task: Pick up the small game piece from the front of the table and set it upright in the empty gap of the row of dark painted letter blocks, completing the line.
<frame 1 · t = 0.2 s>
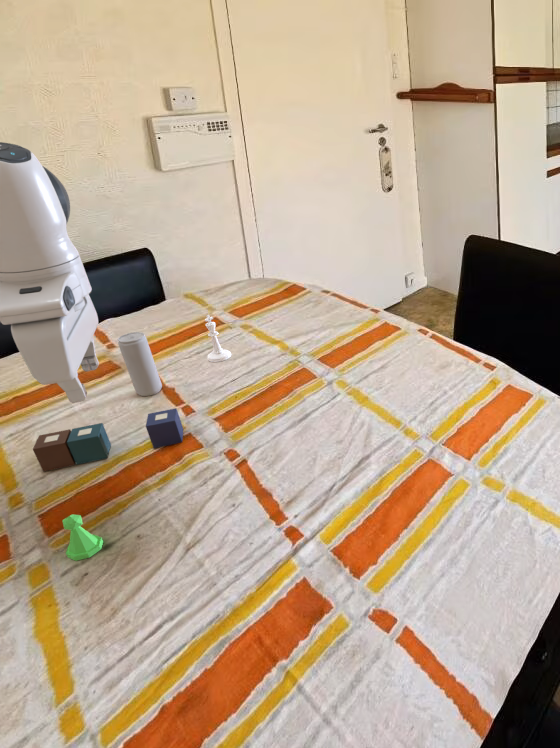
hand: (85, 383, 83), 21 cm above the table, tool pointing down, fingers open, 8 cm apart
letter blocks: (112, 450, 107), on the table
beverage can: (150, 392, 125), on the table
chess piece: (219, 357, 138), on the table
game piece: (86, 550, 85), on the table
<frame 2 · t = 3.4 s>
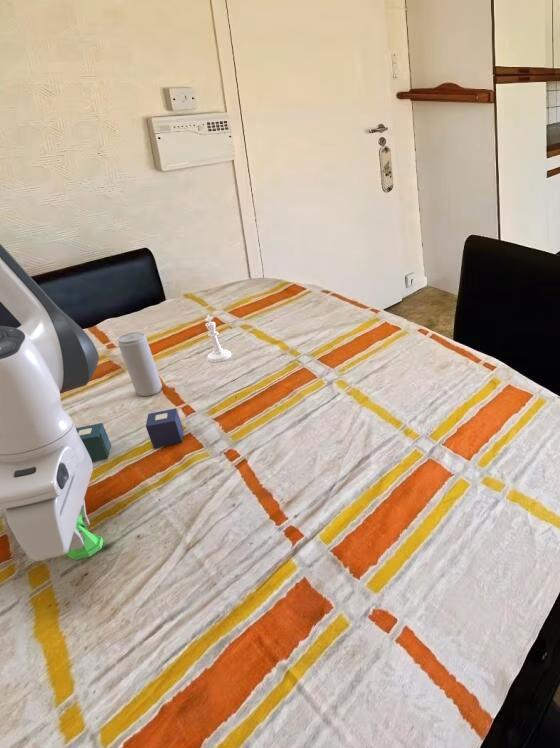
hand: (80, 537, 84), 2 cm above the table, tool pointing down, fingers closed on game piece, 2 cm apart
game piece: (86, 549, 86), on the table, touching gripper
everything else where it was.
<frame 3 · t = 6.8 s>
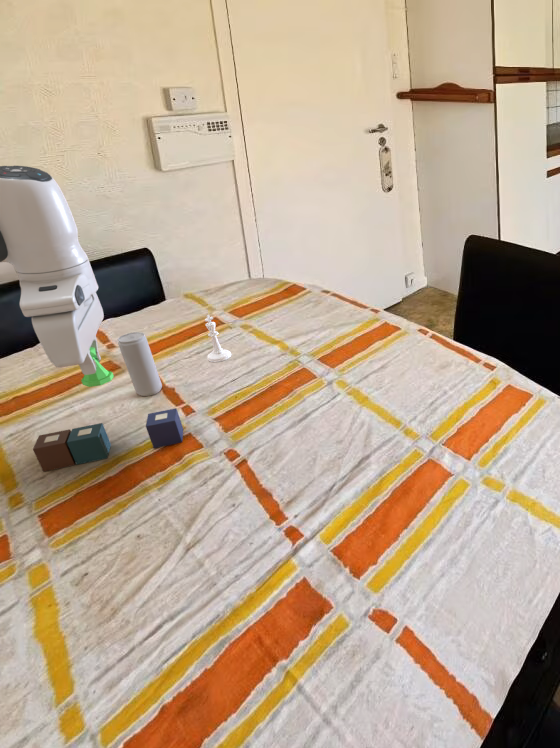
hand: (92, 368, 97), 17 cm above the table, tool pointing down, fingers closed on game piece
game piece: (98, 381, 98), point 14 cm above the table, touching gripper
everything else where it was.
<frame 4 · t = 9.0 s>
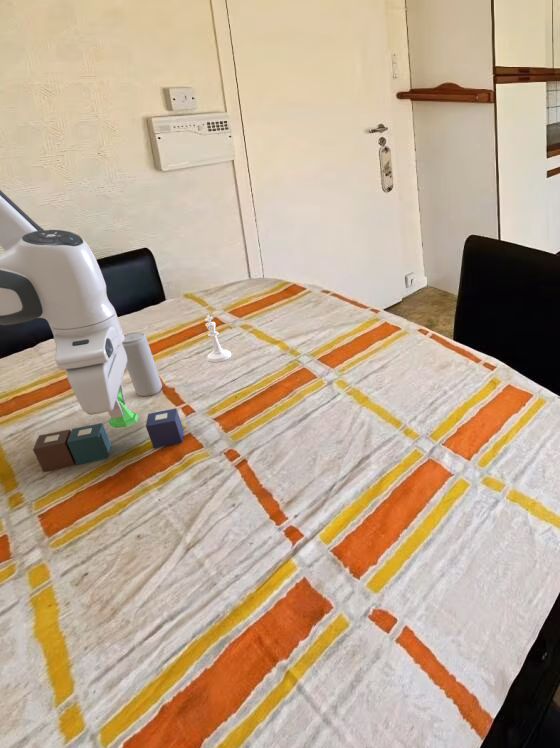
hand: (119, 410, 104), 7 cm above the table, tool pointing down, fingers closed on game piece
game piece: (124, 422, 106), point 5 cm above the table, touching gripper
everything else where it was.
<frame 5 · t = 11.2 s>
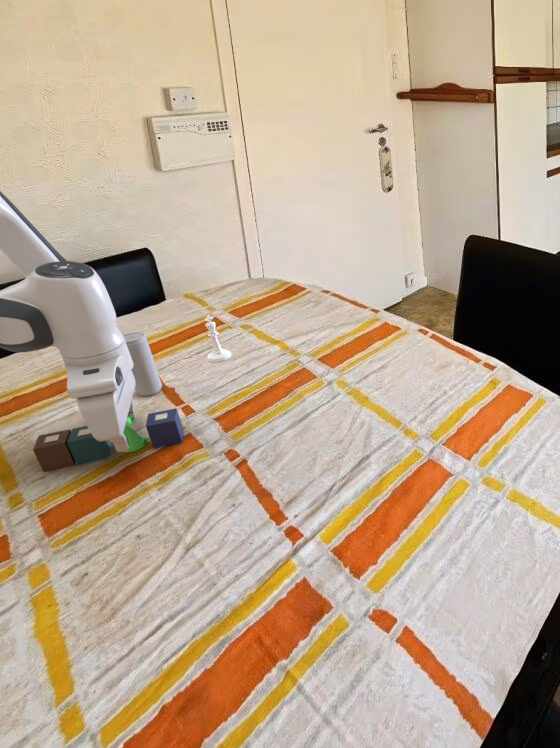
hand: (127, 434, 106), 2 cm above the table, tool pointing down, fingers open, 8 cm apart
game piece: (133, 446, 108), on the table
everything else where it was.
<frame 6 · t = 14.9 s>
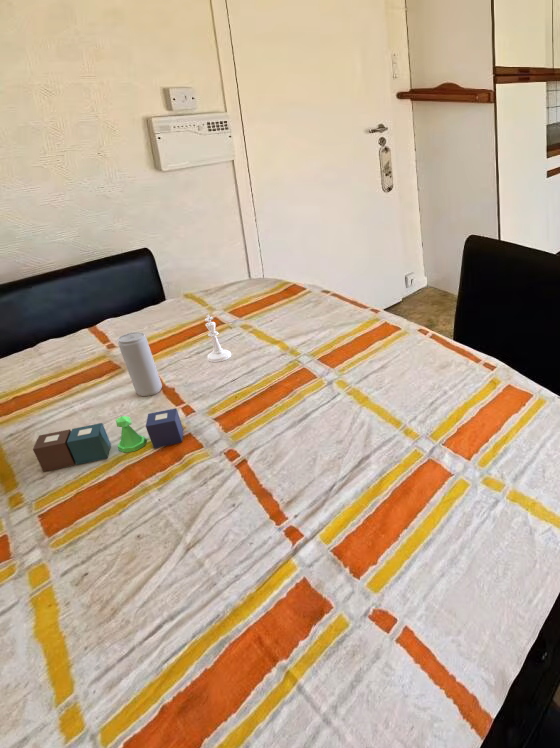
nothing on the table moved.
at the end: game piece 0.3 cm from the target spot on the letter blocks, point 0.0 cm above the letter blocks's base; game piece tilted 0°; the gripper is holding nothing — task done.
